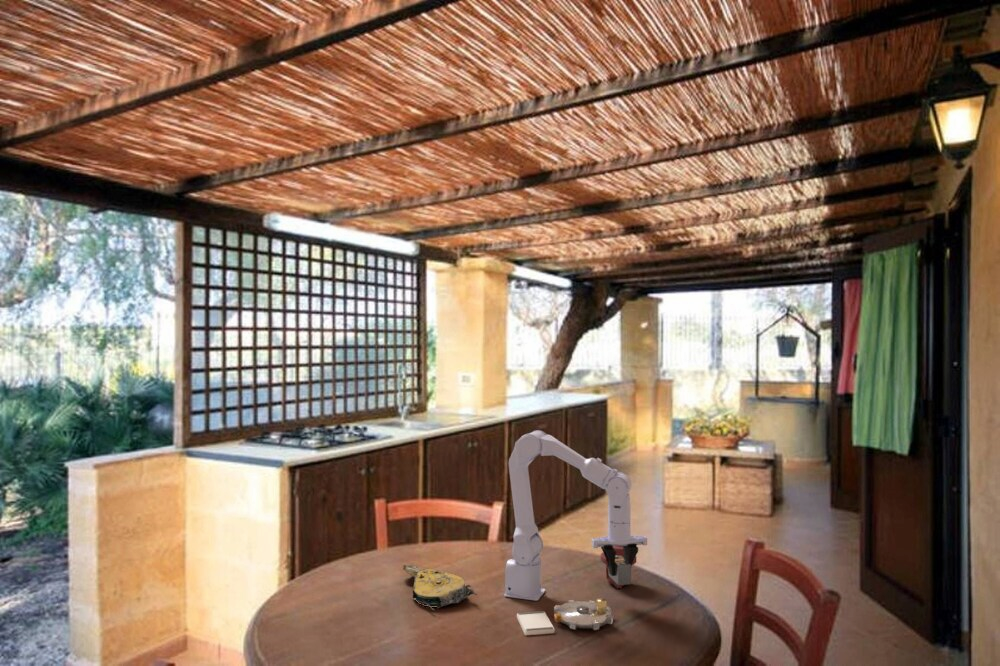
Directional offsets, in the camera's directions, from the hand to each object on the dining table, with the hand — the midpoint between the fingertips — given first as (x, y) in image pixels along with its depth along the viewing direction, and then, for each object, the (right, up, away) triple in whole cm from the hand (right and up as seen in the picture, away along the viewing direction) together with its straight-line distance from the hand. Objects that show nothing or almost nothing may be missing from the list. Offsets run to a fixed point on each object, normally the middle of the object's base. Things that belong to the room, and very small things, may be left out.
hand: (619, 574), depth 163 cm
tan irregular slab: (-50, -9, +11) cm, 52 cm away
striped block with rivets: (0, -1, 0) cm, 1 cm away
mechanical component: (+3, -9, +16) cm, 18 cm away
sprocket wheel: (-11, -8, -9) cm, 16 cm away
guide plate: (-23, -8, -11) cm, 26 cm away
